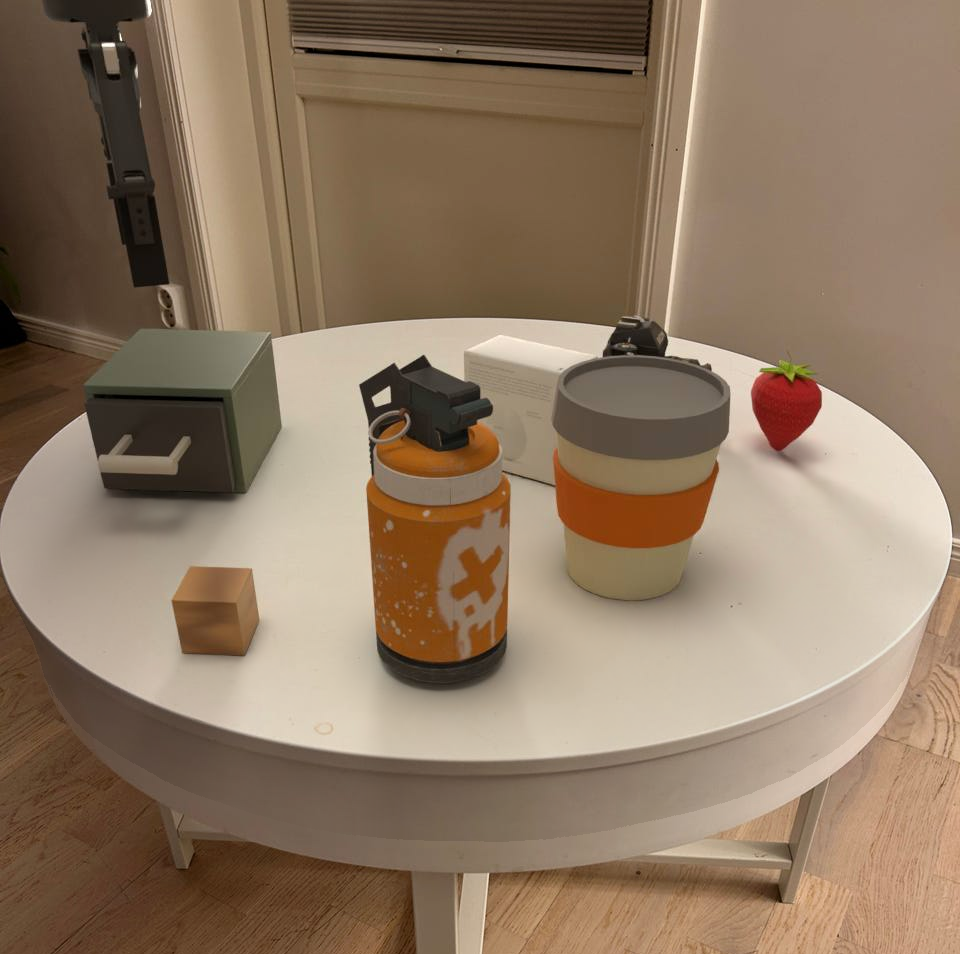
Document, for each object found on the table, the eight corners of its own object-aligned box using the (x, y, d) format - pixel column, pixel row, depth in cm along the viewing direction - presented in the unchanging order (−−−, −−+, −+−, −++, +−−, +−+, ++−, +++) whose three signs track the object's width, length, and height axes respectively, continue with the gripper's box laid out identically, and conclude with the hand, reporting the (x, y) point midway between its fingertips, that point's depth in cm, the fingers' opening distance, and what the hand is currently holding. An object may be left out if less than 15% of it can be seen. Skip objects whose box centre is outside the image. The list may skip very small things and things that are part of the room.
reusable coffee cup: (676, 630, 71) (705, 435, 62) (517, 587, 76) (523, 399, 67) (724, 551, 80) (754, 371, 72) (579, 517, 85) (592, 343, 76)
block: (181, 653, 69) (170, 600, 66) (200, 617, 72) (190, 565, 70) (244, 655, 68) (236, 602, 66) (259, 619, 72) (252, 567, 69)
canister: (429, 708, 64) (420, 414, 52) (335, 632, 71) (309, 357, 59) (533, 656, 69) (545, 375, 57) (435, 589, 76) (429, 326, 64)
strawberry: (771, 471, 92) (791, 366, 87) (728, 439, 98) (744, 338, 92) (825, 462, 94) (848, 358, 88) (780, 431, 100) (799, 332, 94)
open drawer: (215, 524, 82) (200, 436, 77) (78, 520, 82) (56, 431, 78) (268, 429, 97) (258, 350, 93) (153, 425, 98) (138, 347, 93)
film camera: (723, 460, 94) (740, 357, 88) (593, 459, 94) (601, 356, 88) (691, 389, 109) (703, 296, 103) (578, 388, 109) (584, 296, 103)
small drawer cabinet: (246, 493, 88) (230, 389, 83) (106, 488, 89) (81, 385, 83) (282, 426, 100) (270, 331, 94) (158, 422, 101) (140, 328, 95)
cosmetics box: (591, 462, 94) (600, 352, 88) (557, 488, 89) (564, 374, 83) (498, 436, 98) (500, 330, 92) (461, 459, 94) (460, 350, 88)
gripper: (159, -40, 63) (209, 300, 75) (129, -48, 82) (174, 224, 94) (32, -40, 61) (105, 310, 73) (32, -49, 80) (90, 230, 92)
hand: (144, 262), depth 83 cm, fingers open, 13 cm apart
